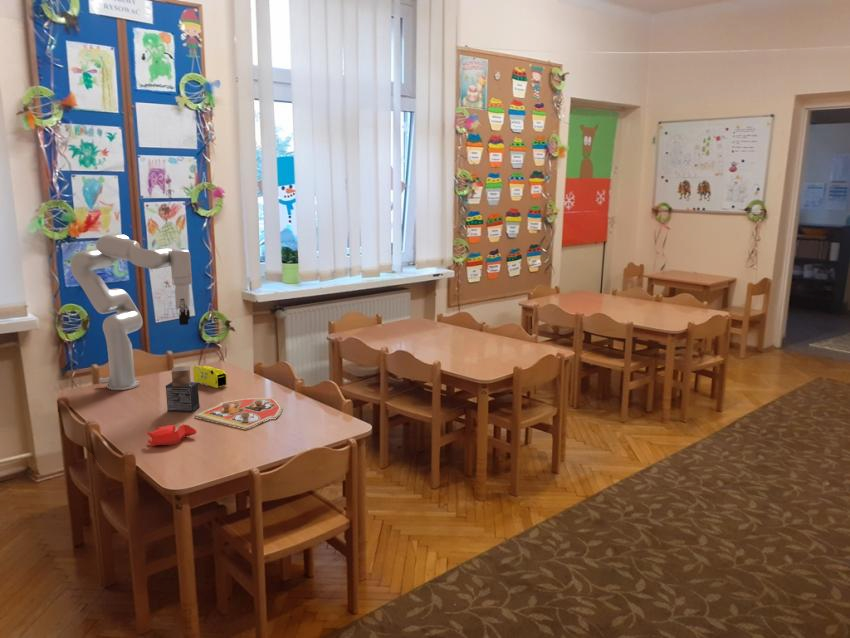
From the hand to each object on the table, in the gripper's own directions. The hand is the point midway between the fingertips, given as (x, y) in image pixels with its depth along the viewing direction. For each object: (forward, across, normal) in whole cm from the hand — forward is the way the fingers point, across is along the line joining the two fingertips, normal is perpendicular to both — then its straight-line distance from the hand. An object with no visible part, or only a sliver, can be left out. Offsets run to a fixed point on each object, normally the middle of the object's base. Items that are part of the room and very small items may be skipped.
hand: (184, 321), depth 269 cm
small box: (+31, +20, -1) cm, 37 cm away
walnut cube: (+20, +20, -1) cm, 28 cm away
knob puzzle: (+31, +29, +23) cm, 48 cm away
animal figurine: (+31, +51, -2) cm, 59 cm away
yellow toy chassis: (+31, -9, +8) cm, 33 cm away
